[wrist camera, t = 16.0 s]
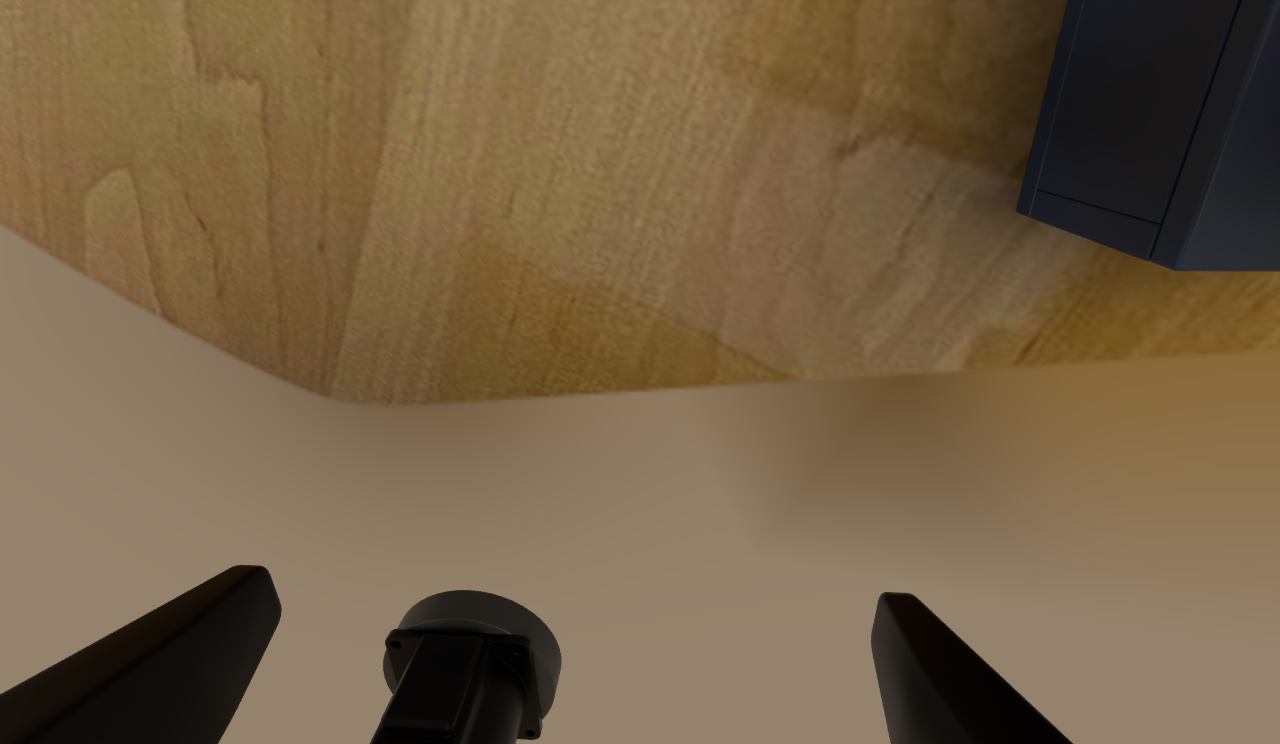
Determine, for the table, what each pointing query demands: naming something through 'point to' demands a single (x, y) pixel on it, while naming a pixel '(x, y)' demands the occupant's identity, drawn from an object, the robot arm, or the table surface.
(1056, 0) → the table surface
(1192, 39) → the dark blue square block
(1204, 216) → the lid
